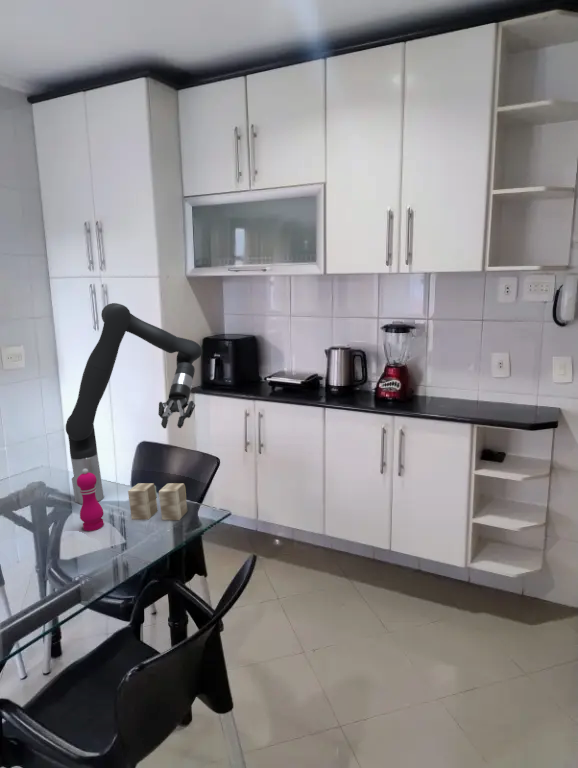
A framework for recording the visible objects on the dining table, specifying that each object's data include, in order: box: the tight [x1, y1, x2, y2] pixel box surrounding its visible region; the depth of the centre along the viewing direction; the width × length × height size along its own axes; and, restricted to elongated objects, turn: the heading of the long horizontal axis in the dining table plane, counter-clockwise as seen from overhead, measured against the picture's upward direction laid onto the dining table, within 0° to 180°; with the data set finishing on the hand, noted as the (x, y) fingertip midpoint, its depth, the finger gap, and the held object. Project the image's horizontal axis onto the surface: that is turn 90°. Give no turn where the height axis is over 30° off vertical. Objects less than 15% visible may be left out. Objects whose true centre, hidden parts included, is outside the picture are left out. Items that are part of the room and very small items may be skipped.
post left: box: [127, 482, 159, 521], centre depth 178 cm, size 6×7×10 cm
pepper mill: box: [77, 469, 105, 532], centre depth 171 cm, size 7×7×20 cm
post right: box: [158, 482, 188, 521], centre depth 175 cm, size 6×7×10 cm
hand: (171, 427), depth 189 cm, fingers open, 5 cm apart
